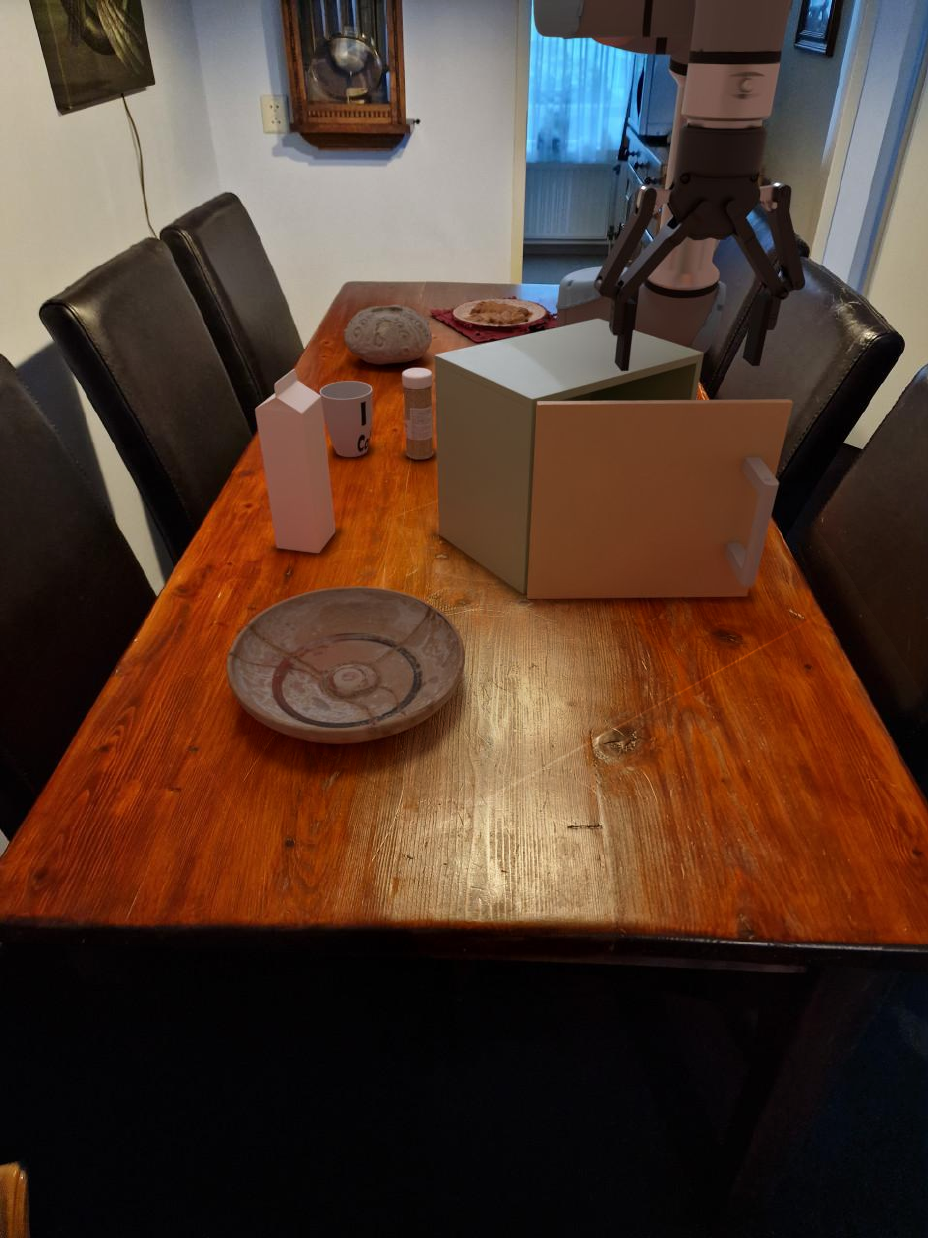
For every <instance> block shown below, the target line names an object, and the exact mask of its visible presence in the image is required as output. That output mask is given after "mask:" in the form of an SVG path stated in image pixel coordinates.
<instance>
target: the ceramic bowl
mask: <svg viewBox="0 0 928 1238" xmlns="http://www.w3.org/2000/svg"><path fill="white" fill-rule="evenodd" d="M465 663H466V651H465V646H464V642H463V638H462V636H461V633H460V632H459V630H458V628H457V627H456V625H455V624H454V623H453V621H452V620H451V619H450V617H448V616H447V615H446V614H445V613H443V612H442V611H441V610H439V609H438V608H437V607H435V606H433V605H432V604H430V603H429V602H427V601H425V600H423V599H421V598H418V597H417V596H414V595H411V594H408V593H405V592H401V591H398V590H393V589H389V588H382V587H375V586H352V585H351V586H338V587H328V588H321V589H316V590H312V591H307V592H303V593H300V594H297V595H294V596H291V597H288V598H285V599H283V600H281V601H279V602H276V603H274V604H271V606H269V607H267V608H265V609H263V610H262V611H261V612H259V613H258V614H256V615H255V616H254V617H253V618H252V619H250V620H249V621H248V622H247V623H246V624H245V625H244V627H243V628H241V630H240V631H239V632H238V634H237V635H236V637H235V639H234V640H233V642H232V644H231V646H230V648H229V651H228V654H227V659H226V675H227V682H228V684H229V687H230V689H231V692H232V694H233V695H234V698H235V699H236V701H237V702H238V703H239V705H240V706H241V707H242V709H244V711H245V712H246V713H248V714H249V715H250V717H252V718H254V719H255V720H256V721H258V722H259V723H261V724H262V725H264V726H266V727H267V728H268V729H271V730H273V731H275V732H278V733H280V734H282V735H285V736H288V737H290V738H295V739H299V740H303V741H308V742H312V743H322V744H356V743H364V742H368V741H369V742H370V741H373V740H378V739H383V738H386V737H391V736H393V735H397V734H401V733H402V732H404V731H407V730H409V729H412V728H413V727H415V726H418V725H420V724H421V723H423V722H424V721H426V720H427V719H429V718H430V717H432V716H433V715H435V714H436V713H437V712H438V711H439V710H440V709H441V708H442V707H443V706H444V705H445V704H446V703H448V701H449V700H450V699H451V697H452V696H453V694H454V693H455V692H456V690H457V688H458V687H459V684H460V682H461V680H462V676H463V673H464V669H465V665H466V664H465Z"/></svg>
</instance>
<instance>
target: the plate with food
mask: <svg viewBox="0 0 928 1238" xmlns="http://www.w3.org/2000/svg"><path fill="white" fill-rule="evenodd" d="M429 312H430V314H431V315H432V316H433V318H435V319H437V320H438V321H439V322H444V323H446V324H447V325H450V326H451V327H452V328H454V329H455V330H456V331H458V332H459V333H462V334H463V335H464V336H467V337H468V338H469V339H471V340H472V341H474V343H481V342H485V341H489V342H490V340H492V339H493V340H495V341H497V340H503V339H507V338H512V337H516V336H522V335H526V334H529V333H530V332H531V330H530V329H529V327H530V326H535V328H536V329H541V328H542V327H543V328H544V329H545V330H549V329H553V328H556V321H557V312H556V313H552V312H551V311H550V310H548V309H547V307H545V306H544V305H542V304H540V303H539V302H534V301H531V300H523V299H519V298H517V296H516V295H512V297H510V296H508V297H507V298H506V297H503V298H486V299H485V298H484V299H478V300H470V301H467V302H464V303H462V304H460V305H457V307H455V308H452V307H451V308H449V309H445V308H443V310H441V309H429ZM477 334H478V335H477Z"/></svg>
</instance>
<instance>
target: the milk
mask: <svg viewBox="0 0 928 1238" xmlns="http://www.w3.org/2000/svg"><path fill="white" fill-rule="evenodd" d="M297 375H298V374H297V369H296V368H293V369H291V370H290V371H289V372H288V373H287V374H285V375H283V376H282V377H281V378H280V379H279V380H277V381H276V382H275V383H274V385H273V387H274V393H273V394H271V395H270V396H269V397H268V398H267V399H265V401H263V402H262V403H260V404H259V405H258V406H257V407H256V408H254V411H255V412H254V414H255V418H256V419H255V420H256V425H257V432H258V437H259V444H260V451H261V457H262V463H263V470H264V477H265V482H266V489H267V495H268V496H267V497H268V502H269V507H270V514H271V521H272V526H273V533H274V540H275V546H276V547H275V548H277V549H279V550H280V549H282V550H288V551H295V552H296V551H297V552H304V553H312V554H320V553H321V552H322V550H323V549H324V548H325V547H326V545H327V543H328V542H329V541H330V539H331V538H332V537H333V536H334V535H335V533H336V523H335V512H334V504H333V494H332V486H331V484H332V483H331V476H330V467H329V457H328V448H327V447H328V446H327V439H326V428H325V419H324V414H323V409H322V400H321V396H320V393H319V394H318V393H317V392H316V391H314V390H313V389H311V388H310V387H308V386H306V385H305V384H304V383H302V382H301V381H299V380H298V376H297Z"/></svg>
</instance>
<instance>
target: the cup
mask: <svg viewBox="0 0 928 1238" xmlns="http://www.w3.org/2000/svg"><path fill="white" fill-rule="evenodd" d="M373 393H374V392H373V386H372V385H371V384H368V383H365V382H361V381H355V380H354V381H353V380H352V381H351V380H347V381H345V380H344V381H337V382H332V383H329V384H326V385H324V386H322V387H321V388H320V389H319V395H320V396H321V400H322V409H323V418H324V424H325V426H326V429H327V433H328V436H329V440H330V442H331V445H332V446H333V448H334V451H335V453H336V455H339V456H340V457H345V458H354V457H359V456H362V455H365V454H366V453H367V452H368V449H369V445H370V442H371V437H372V427H373V417H374V405H373V403H374V400H373V399H374V398H373V397H374V396H373V395H374V394H373Z"/></svg>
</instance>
